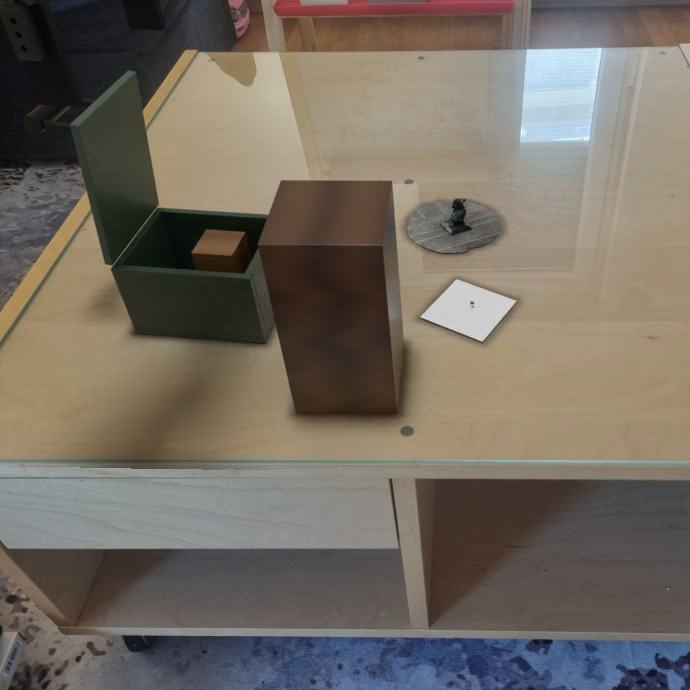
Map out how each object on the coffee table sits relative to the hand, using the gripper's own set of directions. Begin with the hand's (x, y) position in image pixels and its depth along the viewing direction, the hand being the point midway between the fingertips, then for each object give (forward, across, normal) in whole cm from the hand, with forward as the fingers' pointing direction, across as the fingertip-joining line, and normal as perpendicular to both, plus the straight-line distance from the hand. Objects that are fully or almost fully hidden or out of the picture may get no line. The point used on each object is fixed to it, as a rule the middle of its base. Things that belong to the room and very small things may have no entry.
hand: (109, 62), depth 54 cm
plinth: (+33, +2, -14) cm, 36 cm away
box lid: (+16, +12, +9) cm, 22 cm away
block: (+32, +12, +1) cm, 34 cm away
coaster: (+33, +14, -25) cm, 43 cm away
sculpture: (+33, +30, -21) cm, 50 cm away
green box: (+33, +12, +3) cm, 35 cm away
